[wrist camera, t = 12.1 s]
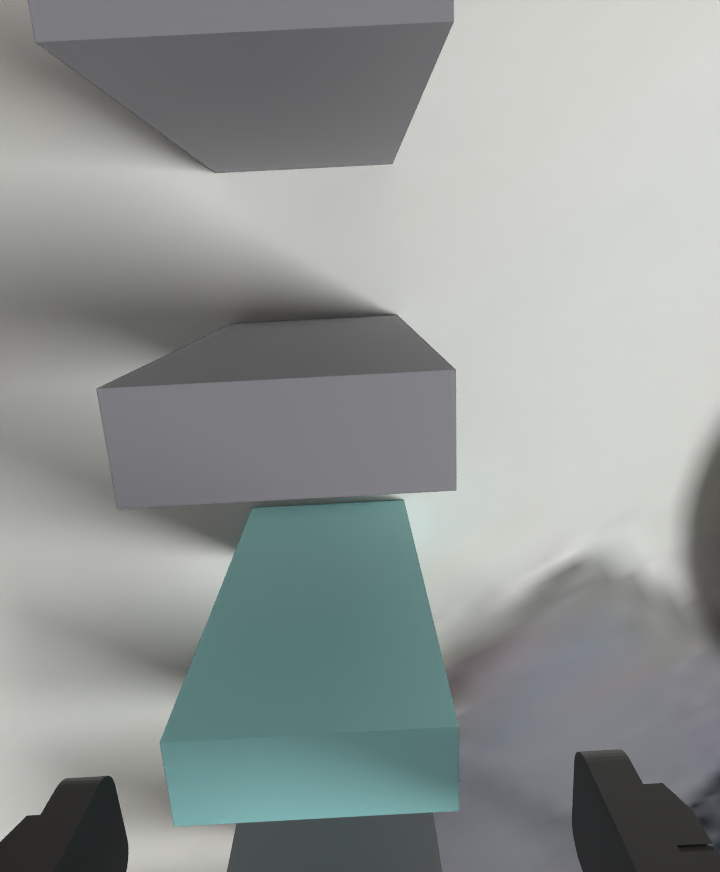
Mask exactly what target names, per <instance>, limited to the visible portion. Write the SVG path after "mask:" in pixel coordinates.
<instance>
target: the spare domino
mask: <svg viewBox="0 0 720 872" xmlns="http://www.w3.org/2000/svg"><path fill="white" fill-rule="evenodd" d="M160 747H161V752H162V758H163V764H164V770H165V776H166V782H167V787H168V793H169V799H170V805H171V811H172V817H173V822H174V827H176V826H194V825H212V824H230V823H248V822H266V821H284V820H302V819H320V818H338V817H356V816H374V815H392V814H410V813H428V812H446V811H459V725H458V721H457V717H456V713H455V708H454V704H453V700H452V696H451V692H450V688H449V684H448V680H447V676H446V671H445V667H444V663H443V659H442V655H441V651H440V647H439V643H438V639H437V634H436V630H435V626H434V622H433V618H432V614H431V610H430V606H429V602H428V597H427V593H426V589H425V585H424V581H423V577H422V573H421V569H420V565H419V560H418V556H417V552H416V548H415V544H414V540H413V536H412V532H411V528H410V523H409V519H408V515H407V511H406V507H405V503H404V500H394V501H375V502H356V503H336V504H317V505H297V506H278V507H259V508H252V510H251V512H250V515H249V518H248V520H247V523H246V525H245V528H244V530H243V533H242V535H241V538H240V540H239V543H238V545H237V548H236V551H235V553H234V556H233V558H232V561H231V563H230V566H229V568H228V571H227V573H226V576H225V578H224V581H223V584H222V586H221V589H220V591H219V594H218V596H217V599H216V601H215V604H214V606H213V609H212V611H211V614H210V617H209V619H208V622H207V624H206V627H205V629H204V632H203V634H202V637H201V639H200V642H199V644H198V647H197V650H196V652H195V655H194V657H193V660H192V662H191V665H190V667H189V670H188V672H187V675H186V677H185V680H184V683H183V685H182V688H181V690H180V693H179V695H178V698H177V700H176V703H175V705H174V708H173V710H172V713H171V715H170V718H169V721H168V723H167V726H166V728H165V731H164V733H163V736H162V738H161V741H160Z"/></svg>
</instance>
